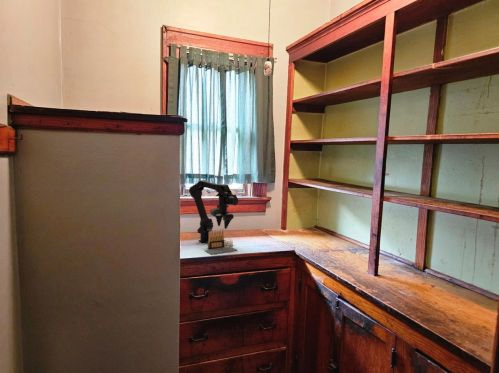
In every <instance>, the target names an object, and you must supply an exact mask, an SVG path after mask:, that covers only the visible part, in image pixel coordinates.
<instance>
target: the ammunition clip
mask: <svg viewBox="0 0 499 373" xmlns="http://www.w3.org/2000/svg"><path fill="white" fill-rule="evenodd" d="M224 240H225V234H224V228H222V230H221V229H219V230H218V229H215V230H213V229H212V231H209V241H208V242H207V250H209V249H216V248H222V247H225V246H224Z"/></svg>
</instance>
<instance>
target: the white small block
mask: <svg viewBox="0 0 499 373" xmlns="http://www.w3.org/2000/svg"><path fill="white" fill-rule="evenodd" d="M233 245H234V239H232V238H231V239H230V238H224V247H229V246H231V247H233Z"/></svg>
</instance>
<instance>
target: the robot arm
mask: <svg viewBox="0 0 499 373" xmlns="http://www.w3.org/2000/svg"><path fill="white" fill-rule="evenodd" d="M205 188H206V189H209V190H214V191H215V192H216V193H217V194H216V197H218V204H217V205H216V207H214V208H212V209H210V210H209V213H210V216H213V217H215V220H216V223H217V227H220V226H221V223H222V220H223V222H224V223H223V224H224V229H225V230H227V229H228V227H229V225H230V223H231V221H232V220H233V219H235V218H234V214H233V213H229V211H228V208H229V205H230V206H237V205H238V203H239V198H238V196H237V194H233V192H232V191H231V189H230V186H229V184H227V183H220V184H219V183H215V182H211V181H207V180H199V181H197V183H195V184H193V185H192V186H190V187H189V189H188V193H189V194H190V195H189V196H190V197H191V198H192V199H193V200H194V202H195V203H194V204H195V206H196V208H197V212H198V214H199V218H200V221H199V227H198V228H197V230H196V232H197V234H199V237H200V238H199V239H198V242H200V243H202V244H203V243H208V241H209V231H211V232H212V230H213V228H214V222H213V219H212V218H210V217H208V214H207V210H206V207H205V204H204V201H203V198H202V196H203V190H205Z"/></svg>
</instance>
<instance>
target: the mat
mask: <svg viewBox="0 0 499 373" xmlns="http://www.w3.org/2000/svg"><path fill="white" fill-rule="evenodd" d="M237 251H238V249H237V248H235V247H233V246H224V247H222V248H216V249H204V252H205V253H207V254H209V255H211V256H214V255H219V254H226V253H232V252H237ZM213 254H214V255H213Z"/></svg>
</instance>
